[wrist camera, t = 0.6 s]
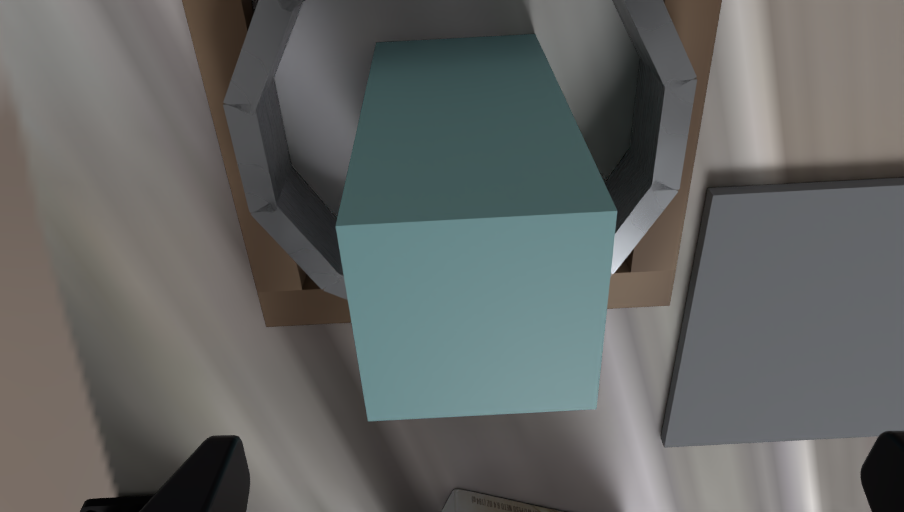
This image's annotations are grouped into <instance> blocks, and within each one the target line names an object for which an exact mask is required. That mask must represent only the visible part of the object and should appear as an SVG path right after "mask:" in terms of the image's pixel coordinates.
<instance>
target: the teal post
mask: <svg viewBox="0 0 904 512" xmlns="http://www.w3.org/2000/svg"><path fill="white" fill-rule="evenodd" d="M616 219H617V209H616V207H615V205H614V203H613V201H612V198H611V196H610V194H609V192H608V190H607V188H606V185H605V183H604V181H603V179H602V177H601V175H600V173H599V170H598V168H597V166H596V164H595V162H594V160H593V157H592V155H591V153H590V151H589V149H588V147H587V145H586V142H585V140H584V138H583V136H582V134H581V132H580V129H579V127H578V125H577V123H576V121H575V119H574V117H573V114H572V112H571V110H570V108H569V106H568V104H567V102H566V99H565V97H564V95H563V93H562V91H561V89H560V86H559V84H558V82H557V80H556V78H555V76H554V74H553V71H552V69H551V67H550V65H549V63H548V61H547V58H546V56H545V54H544V52H543V50H542V48H541V46H540V43H539V41H538V39H537V37H536V35H535V34H524V35H506V36H487V37H469V38H450V39H432V40H413V41H395V42H376V46H375V50H374V55H373V59H372V64H371V68H370V73H369V77H368V82H367V86H366V91H365V95H364V100H363V104H362V109H361V113H360V118H359V122H358V127H357V131H356V136H355V140H354V145H353V149H352V154H351V159H350V163H349V168H348V172H347V177H346V181H345V186H344V190H343V195H342V199H341V204H340V208H339V213H338V217H337V222H336V232H337V238H338V244H339V250H340V256H341V262H342V268H343V274H344V280H345V286H346V292H347V298H348V304H349V310H350V316H351V322H352V328H353V334H354V340H355V346H356V353H357V359H358V365H359V371H360V377H361V383H362V389H363V395H364V401H365V407H366V413H367V419H368V421H385V420H403V419H422V418H441V417H460V416H479V415H497V414H516V413H535V412H554V411H573V410H591V409H596V408H597V399H598V389H599V380H600V370H601V361H602V351H603V342H604V332H605V323H606V313H607V304H608V295H609V285H610V276H611V266H612V257H613V247H614V238H615V228H616Z"/></svg>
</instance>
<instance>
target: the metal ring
mask: <svg viewBox="0 0 904 512" xmlns="http://www.w3.org/2000/svg"><path fill="white" fill-rule="evenodd" d="M303 1H305V0H258V3H257V6H256V9H255V12H254V15H253V17H252V20H251V23H250V26H249V29H248V32H247V35H246V38H245V41H244V43H243V46H242V49H241V52H240V55H239V58H238V61H237V64H236V67H235V70H234V72H233V75H232V78H231V81H230V84H229V87H228V90H227V93H226V96H225V98H224V101H223V103H224V104H223V107H224V111H225V115H226V119H227V123H228V127H229V131H230V135H231V139H232V144H233V148H234V152H235V156H236V160H237V164H238V168H239V172H240V176H241V180H242V184H243V188H244V192H245V196H246V200H247V204H248V209H249V213H251V215H252V217H253V218H254V219H255V220H256V221H257V222H258V223H259V224H260V225H261V226H262V227H263V228H264V229H265V230H266V231H267V232H268V233H269V235H270V236H271V237H272V238H273V239H274V240H275V241H276V242H277V243H278V244H279V245H280V246H281V247H282V248H283V249H284V250H285V251H286V252H287V254H288V255H289V256H290V257H291V258H292V259H293V260H294V261H295V262H296V263H297V264H298V265H299V266H300V267H301V268H302V269H303V270H304V271H305V273H306V274H307V275H308V276H309V277H310V278H311V279H312V280H313V281H314V282H315V283H316V284H317V285H318V286H319V287H320V288H321V289H324V291H325V292H328V293H331V294H333V295H336V296H338V297H341V298H344V299H346V300H348V298H347V292H346V286H345V280H344V274H343V268H342V262H341V256H340V250H339V244H338V238H337V232H336V222H337V218H336V217H335V216H334V215H333V214H332V212H331V211H330V210H329V209H328V208H327V207H326V205H325V204H324V203H323V202H322V201H321V200H320V198H319V197H318V196H317V195H316V194H315V193H314V192H313V190H312V189H311V188H310V187H309V186H308V185H307V183H306V182H305V181H304V180H303V179H302V178H301V177H300V175H299V174H298V173H297V172H296V171H295V170H294V168H293V167H292V166H291V161H290V156H289V151H288V146H287V141H286V136H285V131H284V126H283V120H282V115H281V110H280V105H279V100H278V95H277V90H276V85H275V80H274V76H275V74H276V71H277V68H278V66H279V63H280V60H281V58H282V55H283V53H284V50H285V47H286V45H287V42H288V39H289V37H290V34H291V31H292V29H293V26H294V24H295V21H296V18H297V16H298V13H299V10H300V8H301V5H302V3H303ZM612 1H613V3H614V5H615V7H616V9H617V11H618V13H619V16H620V18H621V20H622V22H623V24H624V26H625V28H626V30H627V32H628V34H629V36H630V38H631V40H632V42H633V44H634V46H635V49H636V51H637V53H638V55H639V57H640V62H639V71H638V80H637V89H636V98H635V107H634V116H633V125H632V134H631V143H630V148H629V150H628V151H627V153H626V154H625V155H624V157H623V158H622V160H621V161H620V162H619V164H618V165H617V167H616V168H615V169H614V171H613V172H612V174H611V175H610V176H609V178H608V179H607V181H606V182H605V185H606V188H607V190H608V192H609V194H610V196H611V198H612V201H613V203H614V205H615V207H616V209H617V219H616V228H615V238H614V247H613V257H612V266H611V273H612V274H614V273H615V272H616V270H617V269H618V268H619V266H620V265H621V264H622V263H623V261H624V260H625V259H626V258H627V256H628V255H629V254H630V253H631V251H632V250H633V249H634V247H635V246H636V245H637V244H638V242H639V241H640V240H641V239H642V237H643V236H644V235H645V233H646V232H647V231H648V230H649V228H650V227H651V226H652V225H653V223H654V222H655V221H656V219H657V218H658V217H659V216H660V214H661V213H662V212H663V211H664V209H665V208H666V207H667V205H668V204H669V203H670V202H671V200H672V199H673V198H674V197H675V195H676V194H677V193H678V190H679V189H680V183H681V176H682V170H683V164H684V158H685V152H686V145H687V139H688V133H689V127H690V121H691V115H692V108H693V102H694V96H695V90H696V84H697V79H696V77H697V76H696V74H695V72H694V69H693V67H692V65H691V63H690V60H689V58H688V56H687V53H686V51H685V49H684V47H683V44H682V42H681V40H680V38H679V35H678V33H677V31H676V29H675V26H674V24H673V22H672V20H671V17H670V15H669V13H668V11H667V8H666V6H665V4H664V2H663V0H612ZM611 276H612V275H611Z"/></svg>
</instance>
